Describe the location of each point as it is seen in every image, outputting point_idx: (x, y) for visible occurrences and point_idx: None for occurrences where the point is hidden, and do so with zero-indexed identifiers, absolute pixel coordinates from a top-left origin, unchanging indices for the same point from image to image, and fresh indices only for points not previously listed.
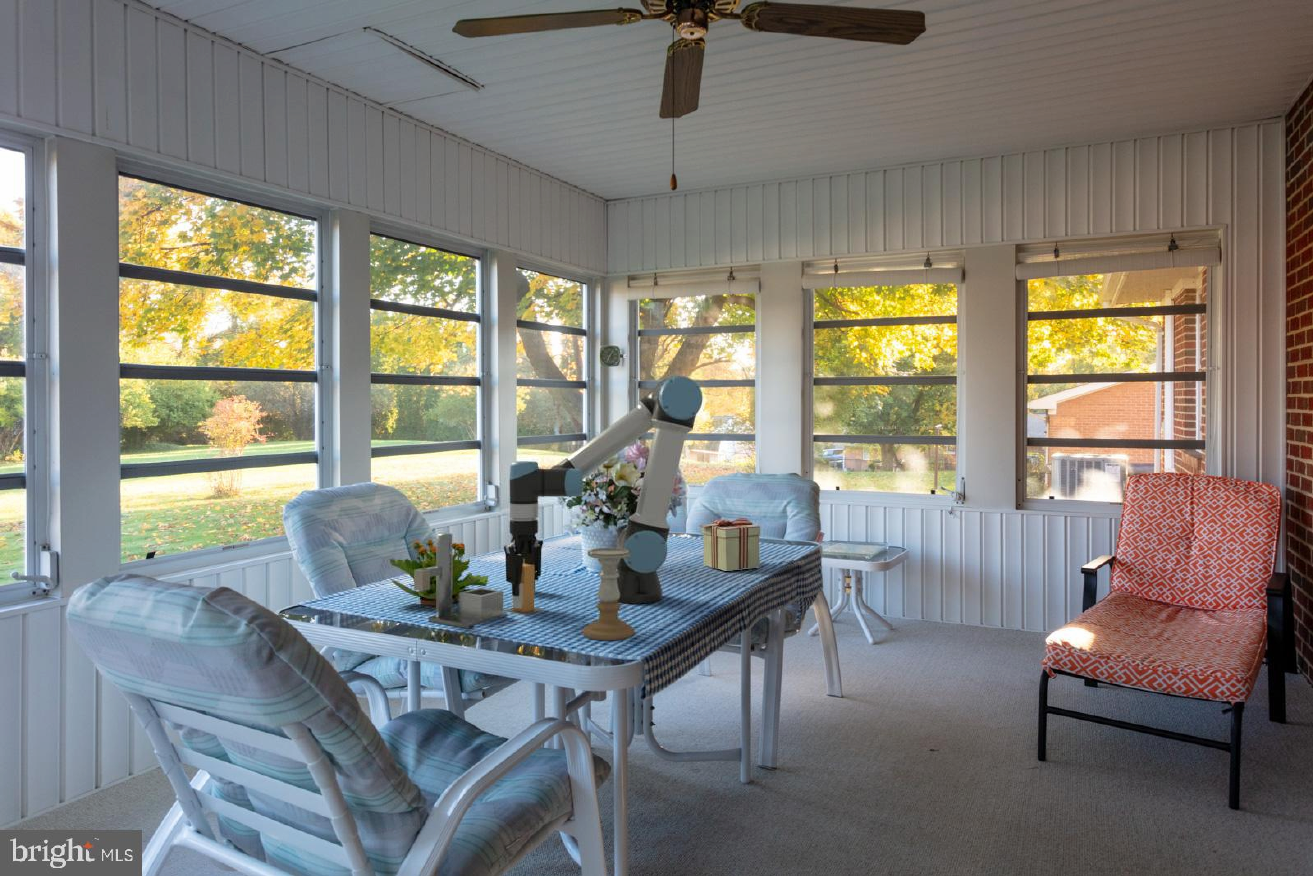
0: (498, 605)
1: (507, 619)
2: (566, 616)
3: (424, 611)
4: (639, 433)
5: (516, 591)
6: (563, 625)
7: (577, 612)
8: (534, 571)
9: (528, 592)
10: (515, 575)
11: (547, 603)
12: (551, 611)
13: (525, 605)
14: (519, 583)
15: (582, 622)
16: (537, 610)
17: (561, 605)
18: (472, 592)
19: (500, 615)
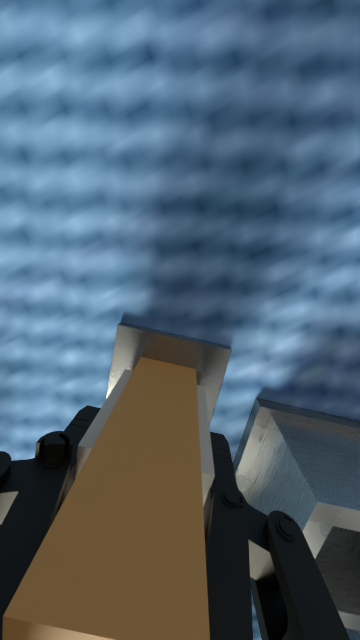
0: (314, 450)
1: (279, 386)
2: (163, 197)
3: (253, 607)
4: None
5: (227, 455)
6: (318, 129)
7: (80, 184)
8: (27, 516)
9: (167, 408)
10: (290, 579)
11: (11, 365)
12: (112, 296)
13: (190, 380)
14: (224, 486)
15: (241, 62)
16: (152, 337)
17: (10, 304)
18: (342, 602)
19: (293, 415)
